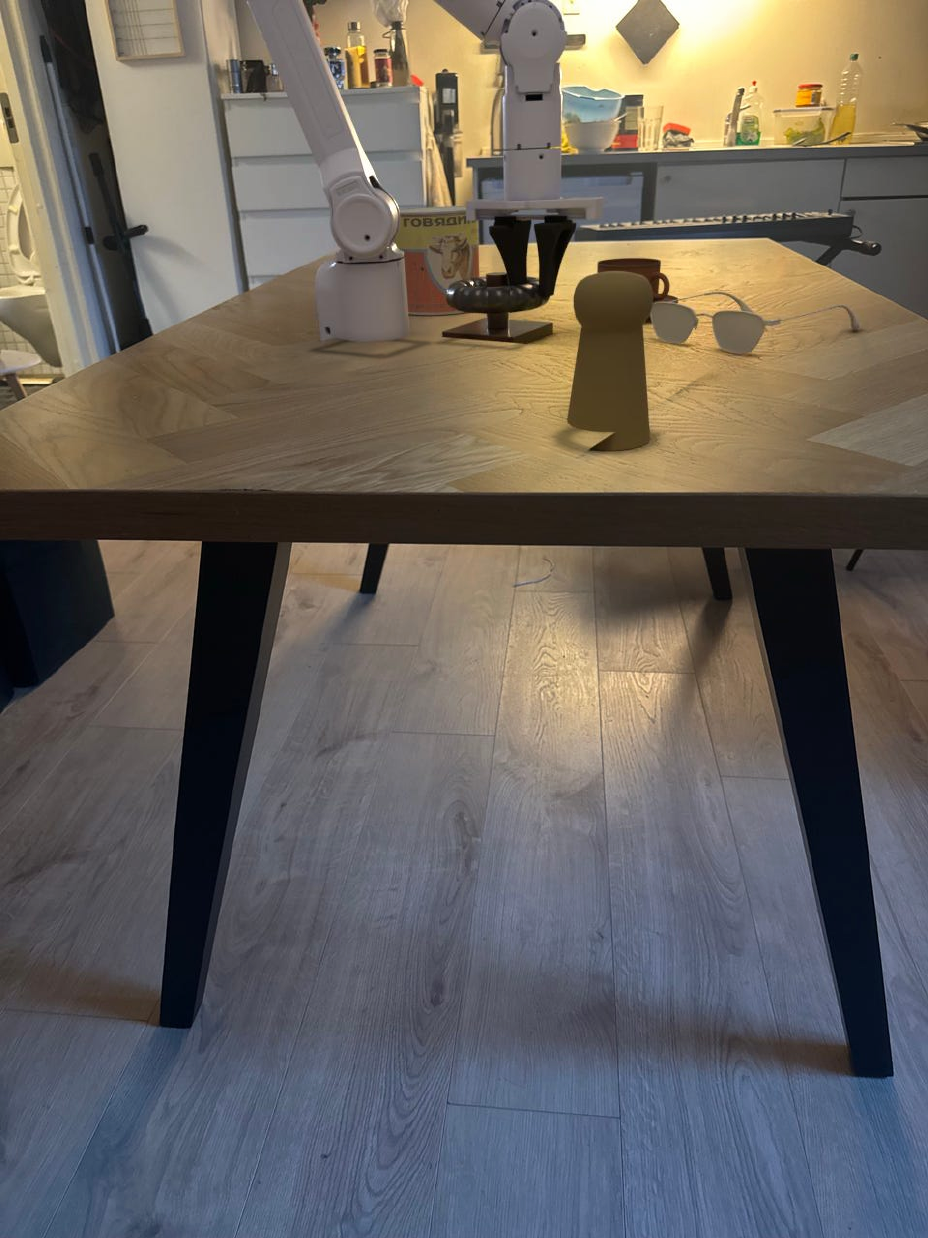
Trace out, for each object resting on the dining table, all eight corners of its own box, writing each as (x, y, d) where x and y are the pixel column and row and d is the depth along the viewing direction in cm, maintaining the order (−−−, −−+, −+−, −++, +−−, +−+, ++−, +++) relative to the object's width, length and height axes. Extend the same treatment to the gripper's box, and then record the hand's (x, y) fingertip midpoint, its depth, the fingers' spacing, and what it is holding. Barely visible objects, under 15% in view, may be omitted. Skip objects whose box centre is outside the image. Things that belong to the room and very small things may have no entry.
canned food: (415, 318, 108) (409, 213, 102) (385, 307, 117) (377, 210, 111) (495, 309, 112) (493, 207, 106) (460, 298, 121) (456, 204, 115)
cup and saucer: (691, 311, 105) (696, 256, 102) (655, 328, 96) (658, 269, 93) (601, 306, 110) (603, 254, 107) (559, 322, 102) (560, 266, 99)
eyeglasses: (641, 338, 91) (643, 299, 89) (743, 315, 101) (747, 279, 99) (766, 359, 80) (771, 314, 78) (867, 330, 90) (875, 290, 88)
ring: (427, 312, 91) (425, 286, 90) (478, 296, 100) (477, 272, 98) (520, 317, 86) (520, 290, 85) (566, 300, 94) (566, 275, 93)
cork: (557, 428, 63) (559, 269, 58) (637, 423, 64) (647, 264, 58) (573, 453, 58) (577, 280, 53) (660, 447, 58) (673, 275, 53)
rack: (442, 342, 94) (438, 277, 90) (484, 328, 100) (482, 266, 97) (513, 348, 89) (512, 280, 86) (553, 333, 96) (553, 269, 92)
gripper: (448, 153, 84) (454, 298, 91) (584, 146, 77) (580, 304, 84) (482, 151, 89) (486, 288, 96) (613, 145, 83) (607, 293, 89)
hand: (532, 295), depth 90 cm, fingers closed on ring, 3 cm apart
